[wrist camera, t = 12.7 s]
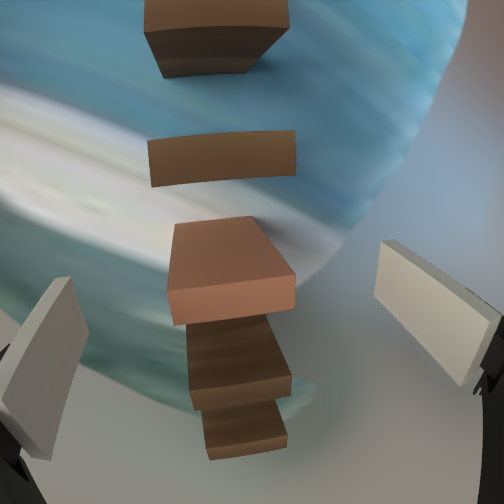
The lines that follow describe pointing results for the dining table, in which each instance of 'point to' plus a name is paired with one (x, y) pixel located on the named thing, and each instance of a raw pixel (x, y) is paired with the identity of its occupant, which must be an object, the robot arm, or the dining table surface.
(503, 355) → the robot arm
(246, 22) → the domino
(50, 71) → the dining table surface
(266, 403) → the domino
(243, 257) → the domino
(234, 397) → the domino
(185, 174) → the domino
